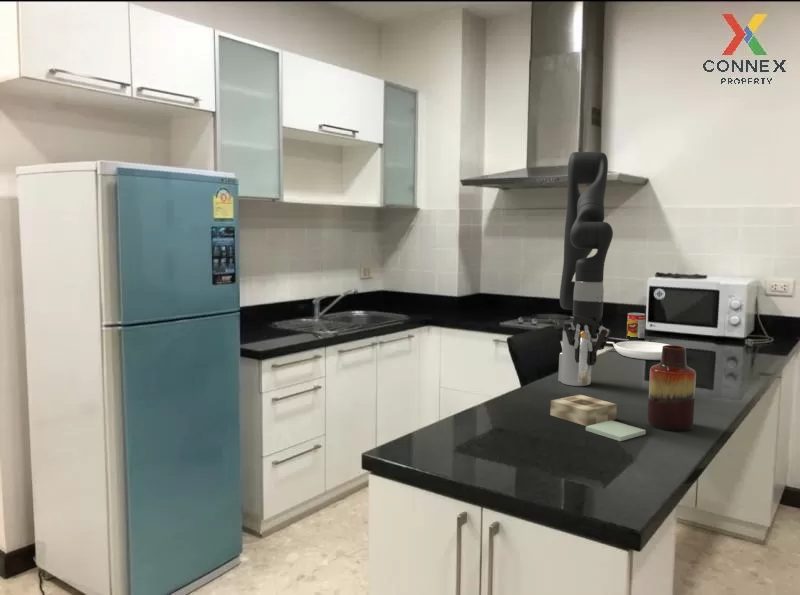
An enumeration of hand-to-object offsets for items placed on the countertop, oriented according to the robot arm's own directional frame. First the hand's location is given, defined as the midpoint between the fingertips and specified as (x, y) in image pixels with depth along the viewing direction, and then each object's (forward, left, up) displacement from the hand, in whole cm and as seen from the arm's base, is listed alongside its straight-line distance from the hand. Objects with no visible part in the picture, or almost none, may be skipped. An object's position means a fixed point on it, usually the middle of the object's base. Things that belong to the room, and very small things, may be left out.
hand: (585, 363), depth 169 cm
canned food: (-72, +128, -15) cm, 148 cm away
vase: (+17, +13, -15) cm, 26 cm away
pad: (+13, -4, -14) cm, 20 cm away
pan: (-50, +92, -15) cm, 106 cm away
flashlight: (0, 0, -5) cm, 5 cm away
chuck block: (0, 0, -14) cm, 14 cm away
